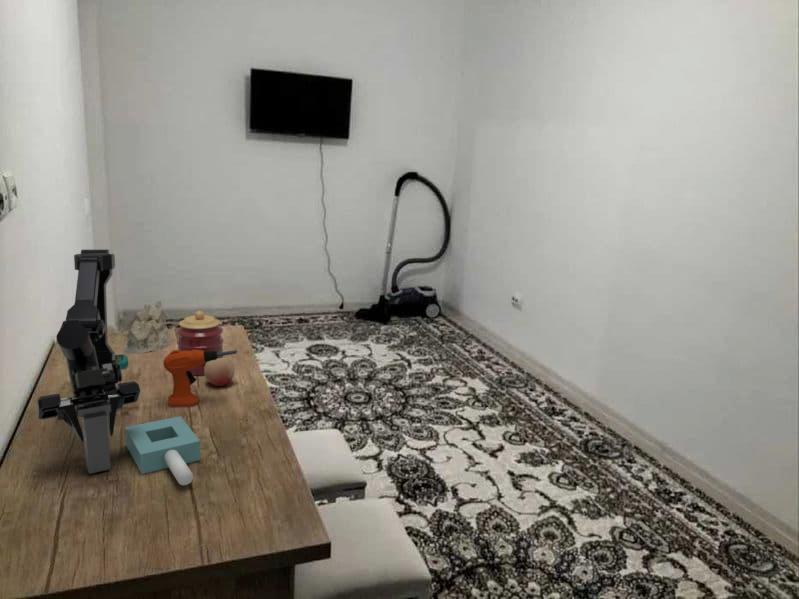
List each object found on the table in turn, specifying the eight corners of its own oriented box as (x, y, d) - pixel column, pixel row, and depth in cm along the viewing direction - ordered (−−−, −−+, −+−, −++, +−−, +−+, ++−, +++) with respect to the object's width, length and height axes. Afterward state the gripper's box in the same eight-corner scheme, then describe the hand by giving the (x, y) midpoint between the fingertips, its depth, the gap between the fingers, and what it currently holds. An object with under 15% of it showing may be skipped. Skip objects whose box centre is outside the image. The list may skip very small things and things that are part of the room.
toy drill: (243, 397, 164) (235, 344, 160) (168, 411, 160) (157, 356, 155) (243, 390, 168) (235, 338, 164) (169, 403, 164) (159, 349, 160)
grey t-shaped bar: (80, 466, 129) (75, 405, 126) (112, 459, 132) (107, 399, 129) (83, 475, 126) (78, 412, 122) (116, 467, 129) (111, 406, 126)
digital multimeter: (128, 370, 184) (127, 360, 183) (70, 374, 178) (70, 365, 177) (128, 361, 190) (127, 352, 189) (73, 366, 185) (72, 356, 184)
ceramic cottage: (149, 333, 215) (145, 291, 211) (180, 345, 207) (176, 302, 202) (106, 347, 203) (101, 303, 198) (137, 360, 195) (133, 315, 190)
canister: (175, 377, 179) (173, 317, 175) (180, 361, 191) (178, 305, 187) (223, 375, 182) (222, 316, 178) (224, 360, 194) (223, 305, 190)
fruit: (231, 377, 181) (230, 351, 179) (236, 387, 174) (236, 360, 172) (202, 380, 178) (201, 354, 176) (207, 391, 171) (206, 363, 169)
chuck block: (126, 445, 139) (125, 427, 138) (181, 433, 146) (180, 416, 145) (154, 497, 120) (153, 476, 119) (216, 481, 127) (215, 461, 126)
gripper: (33, 358, 121) (45, 434, 115) (135, 344, 131) (151, 413, 125) (32, 383, 129) (44, 454, 123) (129, 368, 140) (143, 433, 134)
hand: (97, 438), depth 126 cm, fingers closed on grey t-shaped bar, 5 cm apart
